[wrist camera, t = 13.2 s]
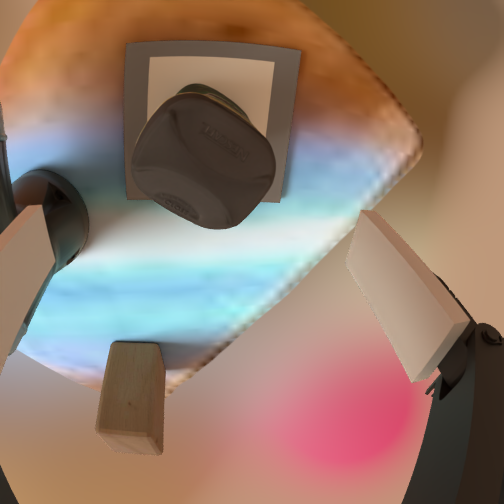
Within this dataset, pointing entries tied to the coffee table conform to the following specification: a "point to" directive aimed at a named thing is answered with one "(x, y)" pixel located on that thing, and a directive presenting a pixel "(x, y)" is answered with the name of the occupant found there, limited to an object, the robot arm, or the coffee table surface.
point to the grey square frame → (219, 78)
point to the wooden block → (133, 399)
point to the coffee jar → (203, 159)
